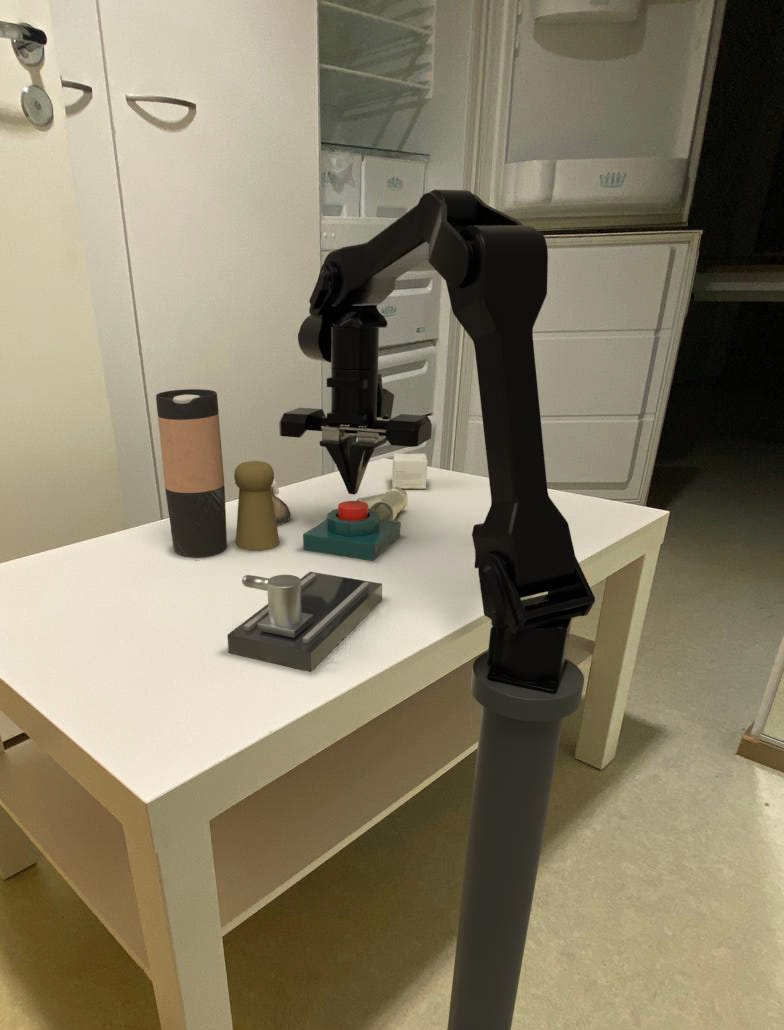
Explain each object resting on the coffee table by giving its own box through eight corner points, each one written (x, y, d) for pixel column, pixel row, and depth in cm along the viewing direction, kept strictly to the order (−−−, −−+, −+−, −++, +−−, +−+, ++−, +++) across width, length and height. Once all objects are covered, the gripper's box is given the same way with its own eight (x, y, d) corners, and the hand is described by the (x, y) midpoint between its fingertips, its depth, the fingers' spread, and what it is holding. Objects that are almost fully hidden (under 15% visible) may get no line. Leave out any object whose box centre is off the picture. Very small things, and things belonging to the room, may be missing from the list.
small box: (424, 480, 126) (426, 452, 124) (426, 489, 121) (428, 460, 119) (391, 480, 127) (392, 452, 125) (392, 489, 122) (393, 460, 120)
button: (372, 515, 98) (372, 502, 97) (361, 523, 94) (361, 510, 94) (345, 511, 99) (345, 499, 98) (333, 520, 96) (333, 507, 95)
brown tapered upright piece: (263, 553, 96) (259, 470, 91) (226, 545, 99) (220, 464, 94) (288, 540, 100) (285, 460, 95) (252, 533, 103) (248, 455, 98)
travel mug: (205, 535, 103) (192, 387, 94) (240, 547, 98) (230, 392, 89) (160, 549, 98) (142, 394, 89) (194, 562, 93) (179, 400, 84)
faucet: (313, 621, 72) (312, 576, 70) (294, 638, 69) (292, 591, 66) (255, 610, 74) (252, 566, 72) (234, 625, 71) (231, 580, 69)
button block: (400, 537, 100) (401, 509, 99) (373, 560, 92) (373, 530, 91) (334, 528, 104) (334, 500, 103) (303, 549, 97) (302, 520, 95)
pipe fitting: (349, 525, 106) (393, 527, 104) (347, 499, 105) (392, 500, 102) (365, 510, 113) (408, 511, 110) (364, 485, 111) (407, 486, 109)
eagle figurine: (224, 506, 111) (245, 510, 103) (242, 463, 111) (265, 464, 103) (265, 526, 115) (289, 532, 107) (283, 485, 115) (308, 487, 107)
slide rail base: (382, 599, 81) (382, 579, 80) (311, 671, 67) (310, 648, 66) (310, 587, 85) (309, 567, 84) (228, 652, 71) (226, 629, 70)
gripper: (448, 362, 91) (440, 485, 98) (314, 358, 98) (316, 472, 105) (419, 373, 82) (413, 508, 89) (275, 367, 90) (279, 492, 97)
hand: (353, 493), depth 95 cm, fingers closed
